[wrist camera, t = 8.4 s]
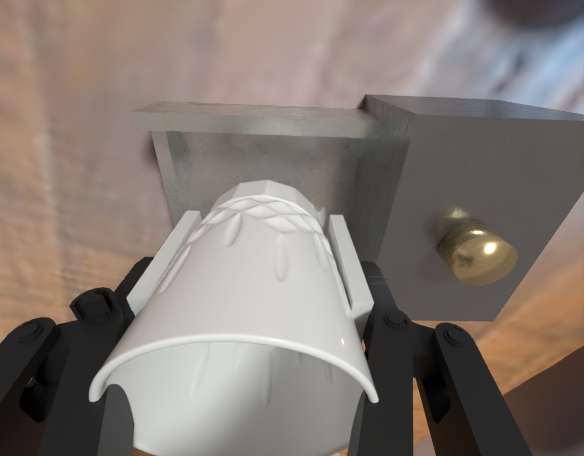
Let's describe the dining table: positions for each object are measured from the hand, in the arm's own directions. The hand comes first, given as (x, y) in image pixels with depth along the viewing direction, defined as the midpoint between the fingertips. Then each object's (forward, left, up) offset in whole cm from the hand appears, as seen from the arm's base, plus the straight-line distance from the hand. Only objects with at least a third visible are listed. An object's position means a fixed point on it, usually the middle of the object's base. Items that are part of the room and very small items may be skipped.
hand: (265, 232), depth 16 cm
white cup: (0, 0, 0) cm, 0 cm away
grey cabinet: (-1, 0, -8) cm, 8 cm away
